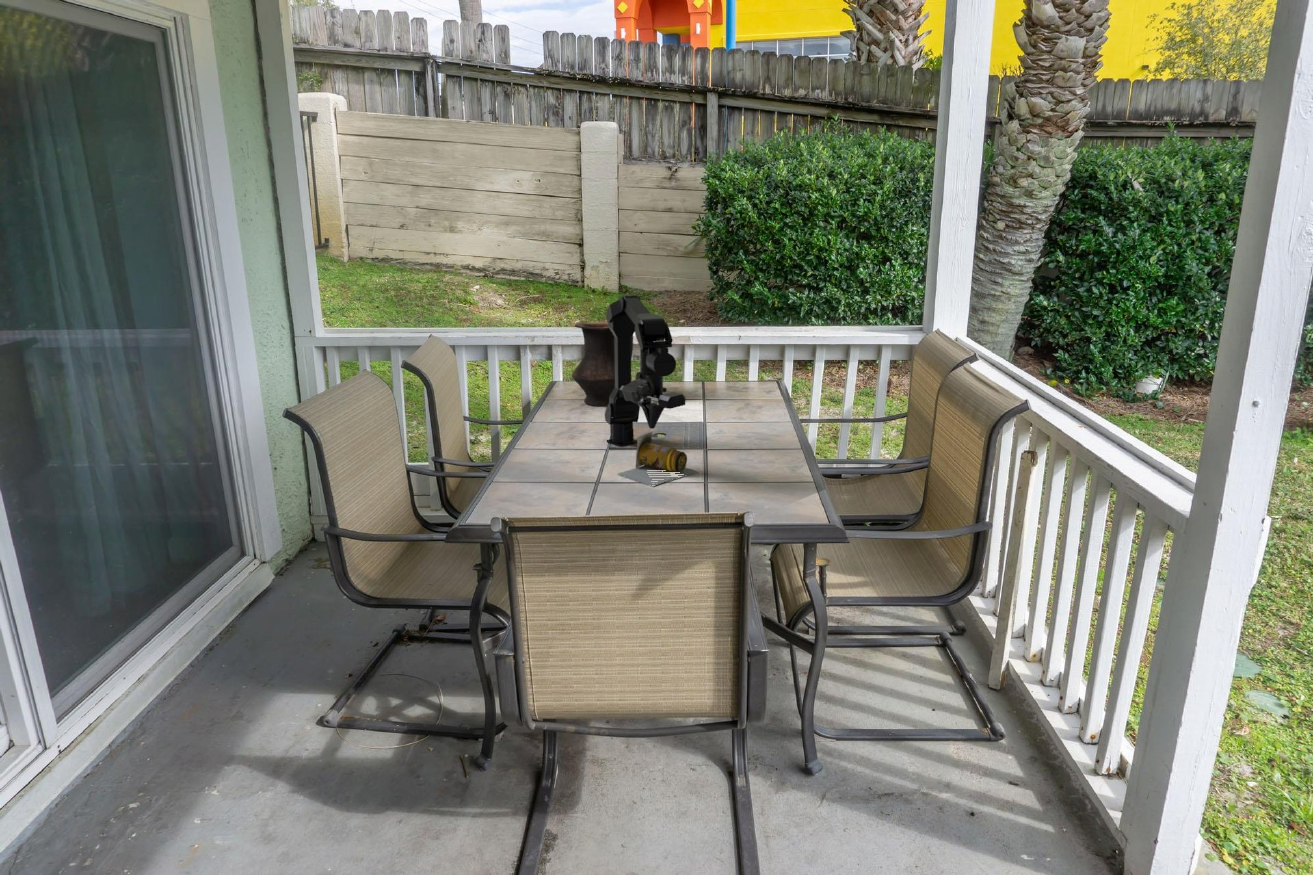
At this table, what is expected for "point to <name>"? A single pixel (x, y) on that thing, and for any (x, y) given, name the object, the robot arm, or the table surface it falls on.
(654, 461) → the condiment
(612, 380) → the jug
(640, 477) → the mat
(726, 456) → the table surface
